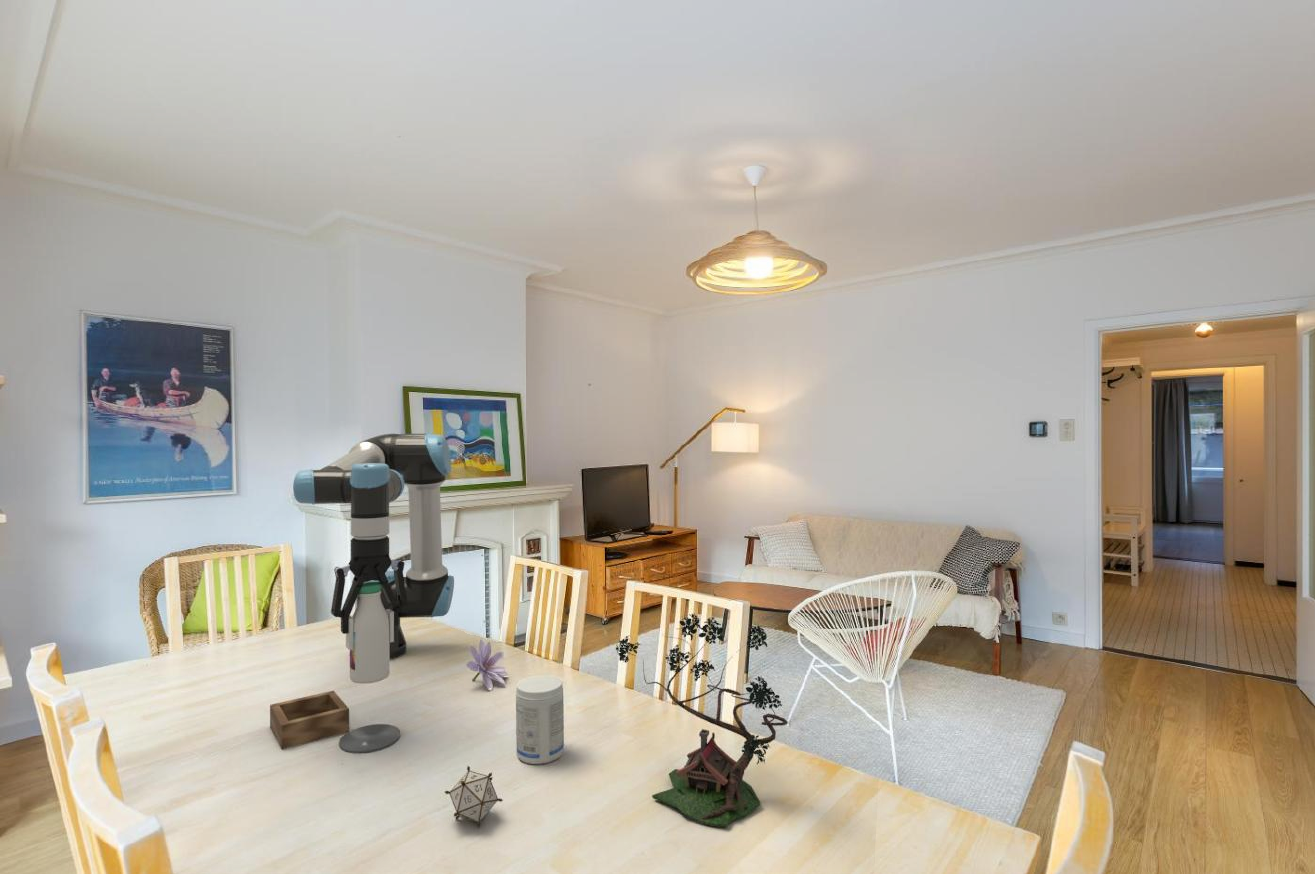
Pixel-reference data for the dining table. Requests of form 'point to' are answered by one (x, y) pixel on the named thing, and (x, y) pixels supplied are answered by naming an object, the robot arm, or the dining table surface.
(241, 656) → the dining table surface
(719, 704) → the bonsai tree
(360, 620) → the milk bottle
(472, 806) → the game die
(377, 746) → the slate coaster
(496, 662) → the water lily
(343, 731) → the walnut pocket
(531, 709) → the supplement tub
